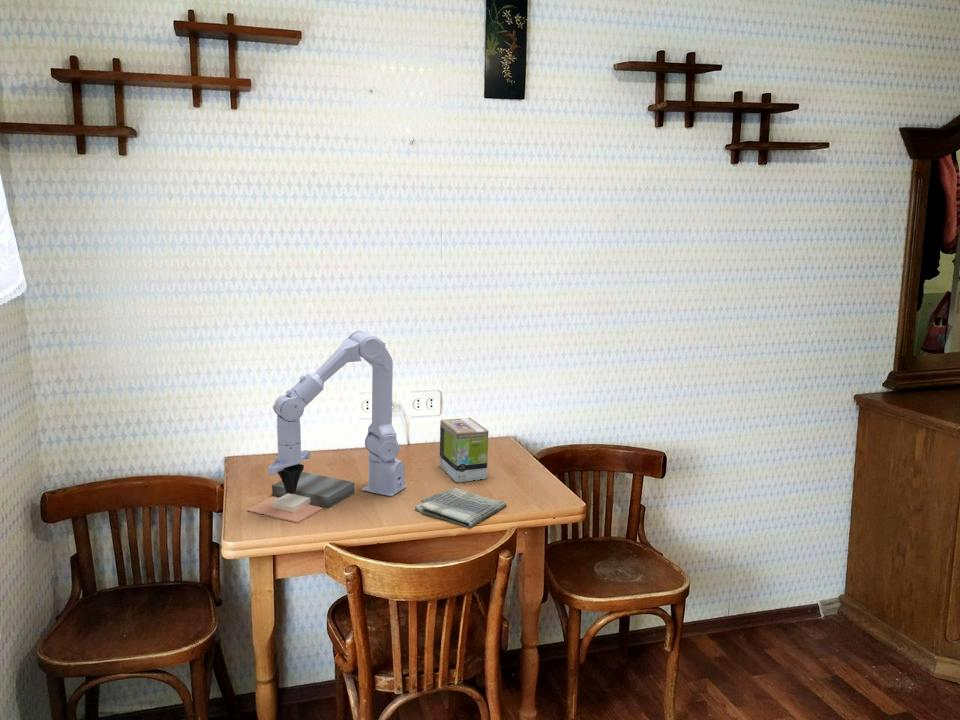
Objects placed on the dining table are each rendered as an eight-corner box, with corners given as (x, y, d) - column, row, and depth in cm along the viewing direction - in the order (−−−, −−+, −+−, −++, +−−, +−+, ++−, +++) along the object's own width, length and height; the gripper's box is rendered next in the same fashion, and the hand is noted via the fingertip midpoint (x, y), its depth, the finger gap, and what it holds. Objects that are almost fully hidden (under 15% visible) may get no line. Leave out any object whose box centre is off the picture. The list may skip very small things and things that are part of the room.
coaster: (310, 503, 200) (310, 497, 199) (293, 512, 194) (293, 507, 193) (288, 498, 203) (288, 492, 202) (271, 507, 196) (271, 502, 196)
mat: (322, 509, 197) (322, 507, 197) (298, 523, 188) (298, 521, 188) (272, 497, 204) (272, 496, 204) (246, 511, 195) (246, 509, 195)
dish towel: (508, 508, 202) (509, 496, 201) (469, 531, 188) (469, 518, 187) (451, 492, 212) (452, 481, 212) (410, 512, 198) (410, 500, 197)
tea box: (488, 479, 221) (489, 430, 218) (455, 483, 217) (456, 433, 214) (469, 462, 234) (470, 415, 231) (438, 466, 231) (438, 418, 228)
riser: (354, 492, 208) (354, 482, 208) (328, 508, 198) (327, 497, 197) (300, 481, 216) (300, 471, 215) (272, 495, 205) (271, 485, 204)
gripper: (294, 432, 203) (295, 481, 206) (257, 447, 190) (259, 499, 193) (316, 436, 200) (317, 485, 203) (280, 452, 187) (282, 504, 190)
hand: (290, 492), depth 197 cm, fingers closed
